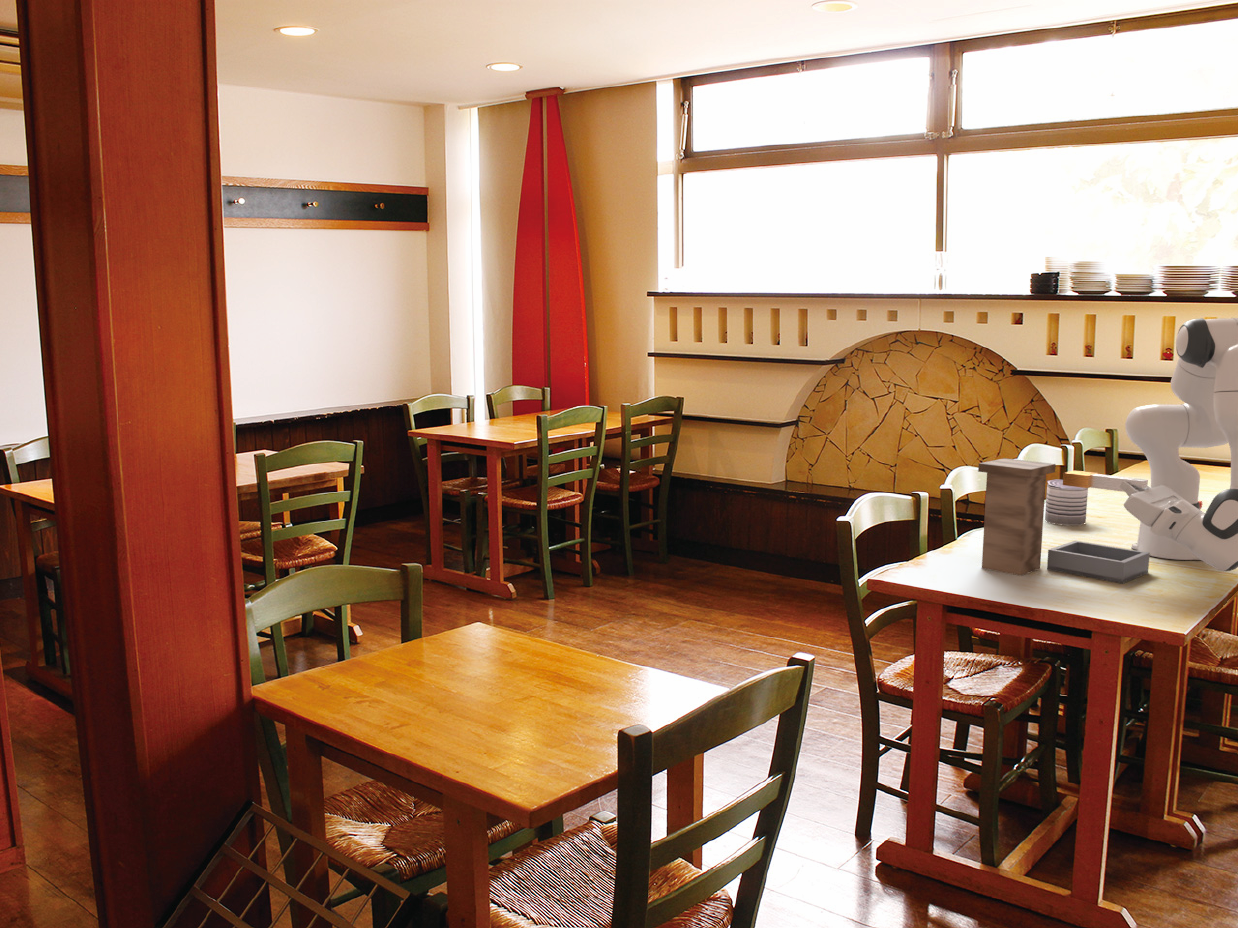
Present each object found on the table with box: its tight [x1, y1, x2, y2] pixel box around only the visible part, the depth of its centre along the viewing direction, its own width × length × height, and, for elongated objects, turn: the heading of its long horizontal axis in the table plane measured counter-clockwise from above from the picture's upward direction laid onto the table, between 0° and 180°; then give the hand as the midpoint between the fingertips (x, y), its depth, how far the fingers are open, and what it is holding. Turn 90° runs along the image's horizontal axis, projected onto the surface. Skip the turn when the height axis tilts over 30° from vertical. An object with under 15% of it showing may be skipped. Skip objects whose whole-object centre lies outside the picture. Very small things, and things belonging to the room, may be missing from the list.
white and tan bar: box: [1062, 470, 1149, 493], centre depth 253 cm, size 18×6×3 cm, turn 43°
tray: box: [1046, 540, 1150, 584], centre depth 256 cm, size 15×18×5 cm
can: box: [1044, 478, 1089, 526], centre depth 315 cm, size 11×11×12 cm
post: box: [977, 458, 1057, 577], centre depth 257 cm, size 13×13×26 cm
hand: (1126, 482), depth 249 cm, fingers closed on white and tan bar, 3 cm apart
